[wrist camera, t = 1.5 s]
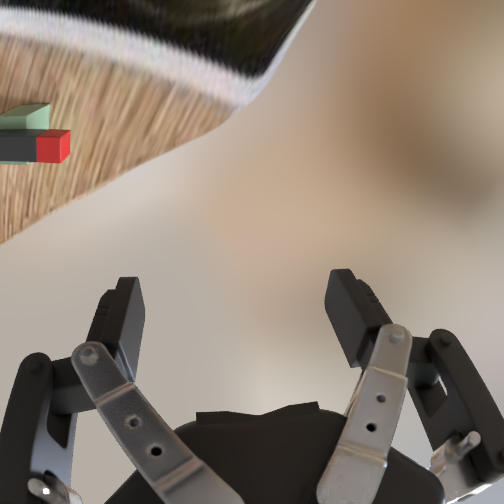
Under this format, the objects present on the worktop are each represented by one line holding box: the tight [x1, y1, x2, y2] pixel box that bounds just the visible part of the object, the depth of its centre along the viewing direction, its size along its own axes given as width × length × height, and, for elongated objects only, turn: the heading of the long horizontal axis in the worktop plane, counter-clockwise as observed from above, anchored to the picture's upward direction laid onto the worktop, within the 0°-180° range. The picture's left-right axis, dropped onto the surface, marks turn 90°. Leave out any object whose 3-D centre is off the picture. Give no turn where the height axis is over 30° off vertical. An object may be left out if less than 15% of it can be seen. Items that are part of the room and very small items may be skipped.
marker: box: [0, 129, 70, 163], centre depth 21 cm, size 14×2×2 cm, turn 76°
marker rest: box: [0, 104, 50, 165], centre depth 24 cm, size 4×5×6 cm
